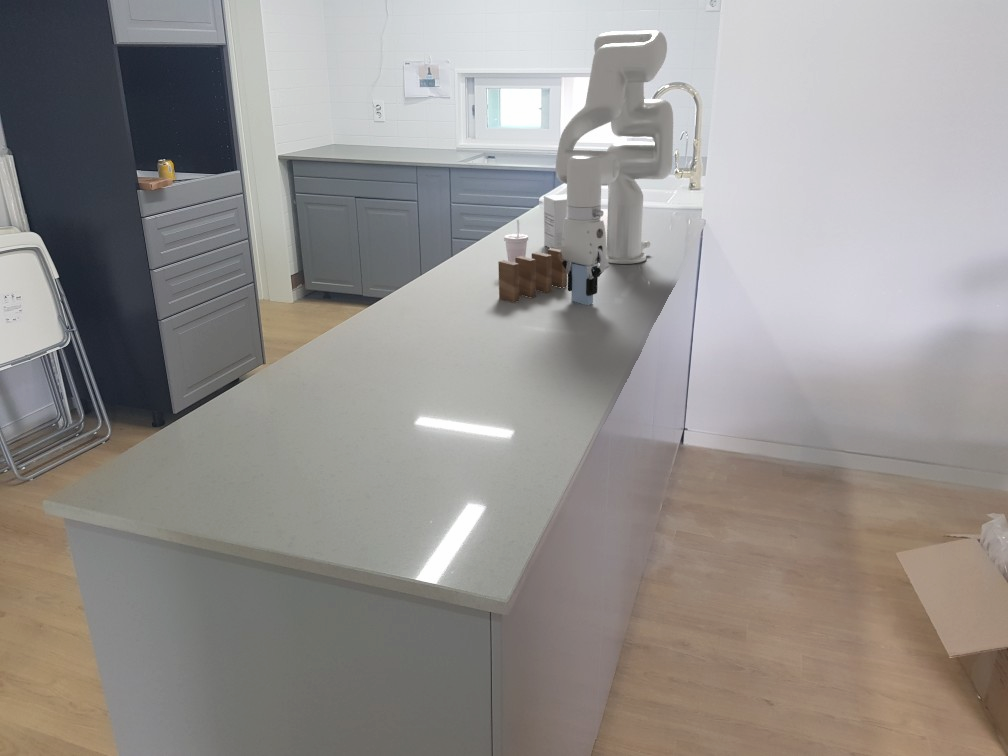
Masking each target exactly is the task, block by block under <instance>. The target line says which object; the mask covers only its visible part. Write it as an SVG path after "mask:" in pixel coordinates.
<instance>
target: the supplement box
mask: <svg viewBox="0 0 1008 756" xmlns="http://www.w3.org/2000/svg"><path fill="white" fill-rule="evenodd" d="M565 218H567V193H565V194H556V195H555V194H554V195H545V196H543V224H544V225H543V226H544V227H543V228H544V229H543V232H544V233H543V237H544V239H543V240H544V241H543V246H544V247H546V246H547V248H548V247H549V248H548V249H550V248H554V249H559V250H562V235H563V227H564V222H565Z"/></svg>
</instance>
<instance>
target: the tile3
mask: <svg viewBox="0 0 1008 756" xmlns="http://www.w3.org/2000/svg"><path fill="white" fill-rule="evenodd" d="M531 258H532V259H536V291H537V290H539V291H538V292H540V291H542V293H544V292H546V293H545V294H548V293H547V292H549V293H551V292H550V291H552V289H553V286H552V255H548V254H547V253H543V252H538V251H535V252H532V253H531Z"/></svg>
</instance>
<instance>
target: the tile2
mask: <svg viewBox="0 0 1008 756" xmlns="http://www.w3.org/2000/svg"><path fill="white" fill-rule="evenodd" d="M560 251H561V250H559V249H554V248H551V249H550V248H547V250H546V254H548V255H552V285H553V286H552V287H554V286H557V287H556V288H558V287H561V288H560V289H564V288H563V287H565V288H567V287H568V274H566V272H565V270H566V269H565V268H564V266H563V264H562V262H561V261H560V260H559V259H558V254H559V253H560ZM566 286H567V287H566Z"/></svg>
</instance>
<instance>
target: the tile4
mask: <svg viewBox="0 0 1008 756" xmlns="http://www.w3.org/2000/svg"><path fill="white" fill-rule="evenodd" d="M515 263H518V264H519V296H522V295H523V296H522V297H525V296H527V298H529V297H532V298H534V296H535V297H536V296H537V290H536V259H532V257H527V256H525V257H523V256H519V257H515Z"/></svg>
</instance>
